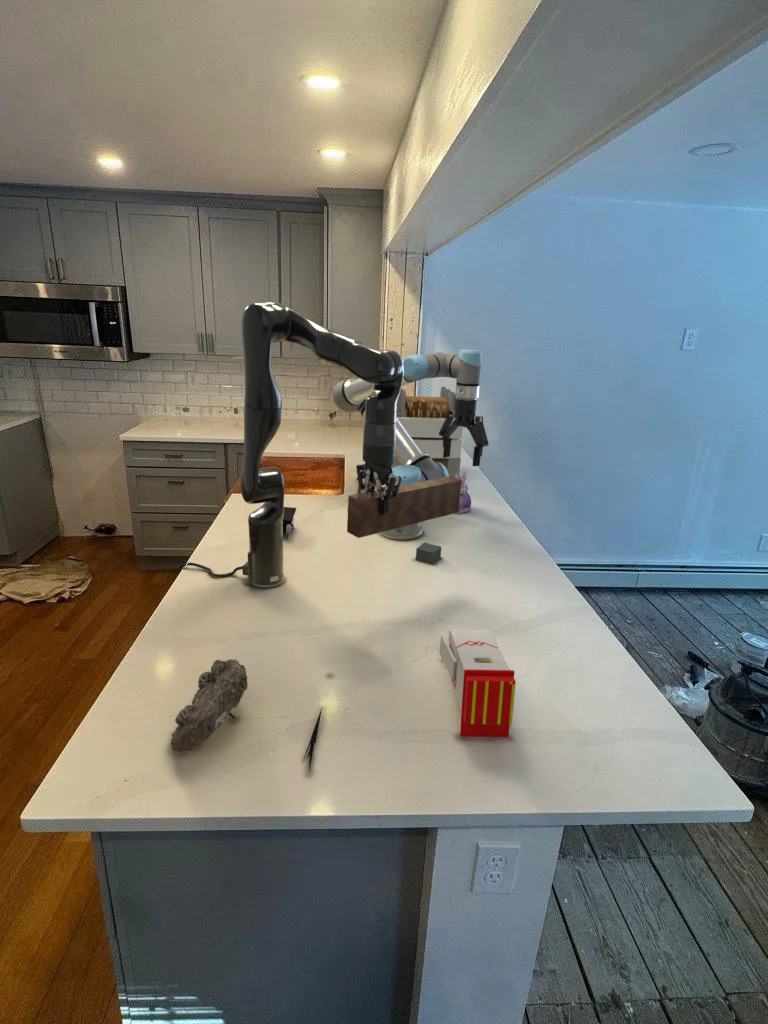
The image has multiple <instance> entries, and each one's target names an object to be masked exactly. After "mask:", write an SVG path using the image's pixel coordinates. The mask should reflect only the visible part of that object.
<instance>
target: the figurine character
mask: <svg viewBox="0 0 768 1024" xmlns="http://www.w3.org/2000/svg"><path fill="white" fill-rule="evenodd" d="M296 511H297V507H289V506H284V516H283V536H285V540H287V539H288V538H289V536H290V535H291V534H292V531H293V530H295V519H294V517H295V514H296Z"/></svg>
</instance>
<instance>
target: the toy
mask: <svg viewBox="0 0 768 1024" xmlns="http://www.w3.org/2000/svg"><path fill="white" fill-rule="evenodd" d="M438 654H439V656H440V658H441V660H442V662H443V665H444V666H445V668H446V671H447V673H448V675H449V677H450V681H451V683H452V685H453V689H454V690H455V695H456V698H457V702H458V705H459V708H460V726H459V737H460V738H509V737H510V728H511V727H510V726H512V725H513V717H514V706H515V705H514V704H515V693H516V684H517V683H516V679H515V670H514V669H510V667H509V666H508V663H507V662H506V660H505V658H504V655H503V654H502V652H501V650H500V648H499V644H498V642H497V638H496V635H495V634H492V632H491V631H490V629H467V628H466V629H465V628H463V629H461V628H460V629H459V628H450V629H449V631H448V641H447V639H446V638H445V636H444V634H443V635H442V634H441V635H440V641H439V651H438Z"/></svg>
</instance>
